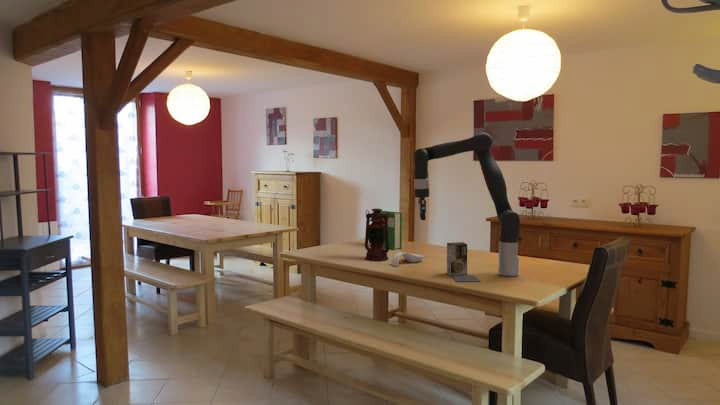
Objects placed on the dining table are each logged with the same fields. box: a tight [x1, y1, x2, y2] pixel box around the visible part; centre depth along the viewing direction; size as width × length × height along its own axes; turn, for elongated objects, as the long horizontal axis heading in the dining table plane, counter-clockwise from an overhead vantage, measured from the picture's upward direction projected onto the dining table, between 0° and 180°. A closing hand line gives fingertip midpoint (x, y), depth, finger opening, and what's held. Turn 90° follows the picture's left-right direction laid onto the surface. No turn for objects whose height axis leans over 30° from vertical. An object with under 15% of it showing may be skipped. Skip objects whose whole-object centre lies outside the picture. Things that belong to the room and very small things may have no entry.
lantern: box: [364, 208, 390, 262], centre depth 295 cm, size 17×14×30 cm
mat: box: [450, 274, 482, 283], centre depth 248 cm, size 12×12×1 cm
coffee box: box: [446, 241, 468, 276], centre depth 258 cm, size 9×6×16 cm
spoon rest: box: [391, 251, 425, 267], centre depth 285 cm, size 24×12×7 cm, turn 140°
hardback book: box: [380, 210, 403, 251], centre depth 332 cm, size 18×7×24 cm, turn 44°
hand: (422, 219), depth 255 cm, fingers open, 8 cm apart
